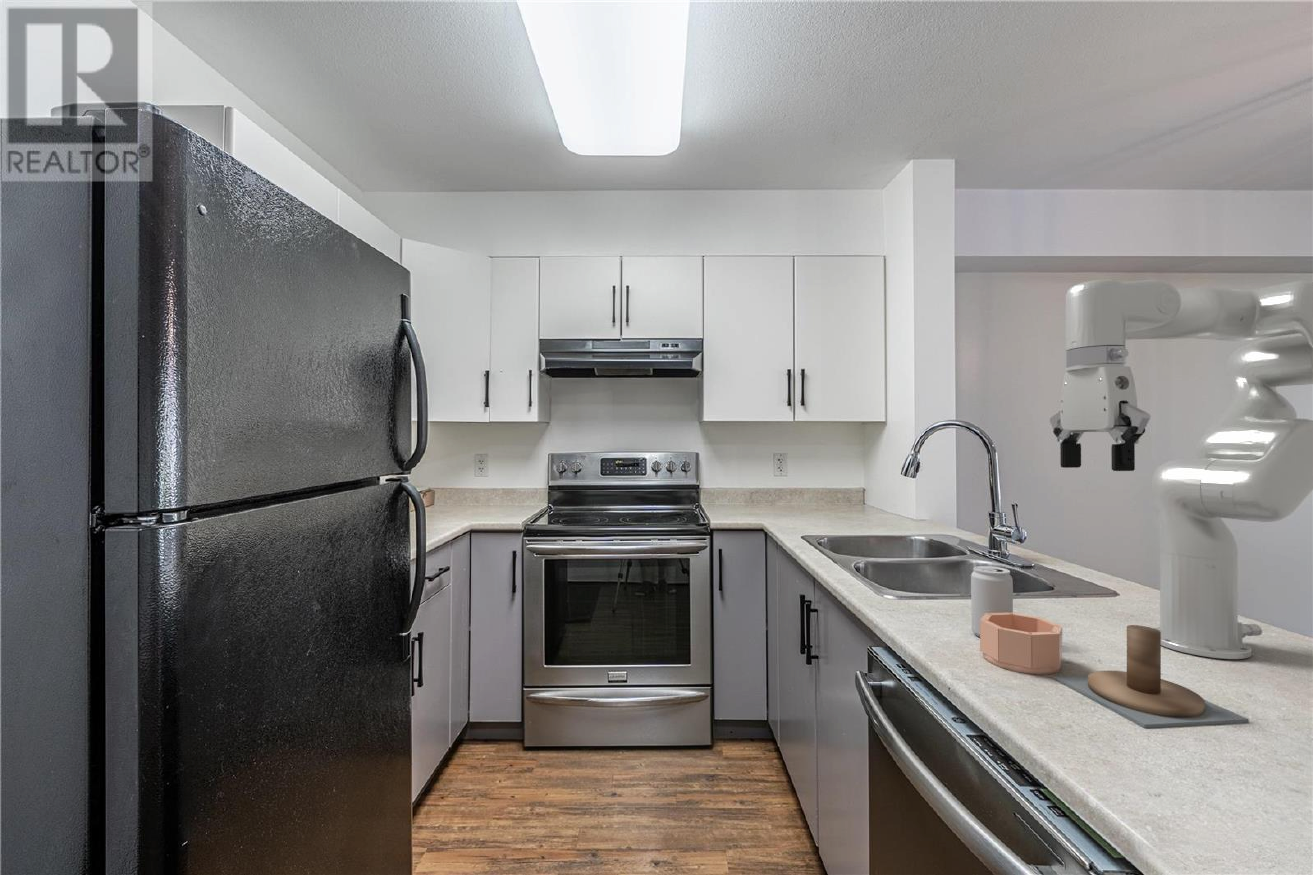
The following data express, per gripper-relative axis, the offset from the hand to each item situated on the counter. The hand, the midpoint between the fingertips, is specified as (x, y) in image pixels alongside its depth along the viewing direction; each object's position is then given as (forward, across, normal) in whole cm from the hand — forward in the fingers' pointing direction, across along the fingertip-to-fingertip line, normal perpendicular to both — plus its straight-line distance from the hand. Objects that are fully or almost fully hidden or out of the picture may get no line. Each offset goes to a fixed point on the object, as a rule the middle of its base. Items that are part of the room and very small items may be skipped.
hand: (1095, 469), depth 91 cm
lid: (+30, -13, +5) cm, 33 cm away
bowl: (+30, +1, +12) cm, 33 cm away
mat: (+30, -13, +5) cm, 33 cm away
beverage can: (+31, +12, +9) cm, 34 cm away
